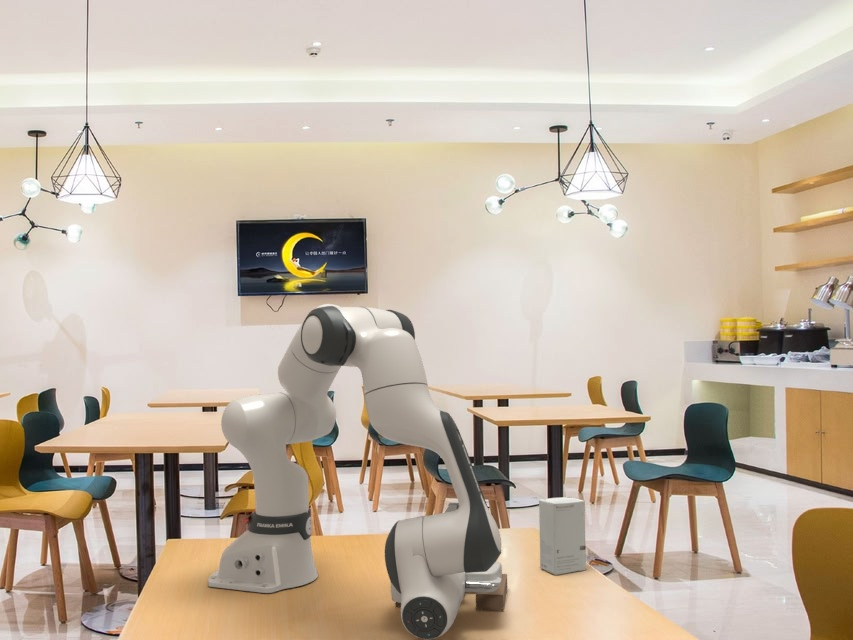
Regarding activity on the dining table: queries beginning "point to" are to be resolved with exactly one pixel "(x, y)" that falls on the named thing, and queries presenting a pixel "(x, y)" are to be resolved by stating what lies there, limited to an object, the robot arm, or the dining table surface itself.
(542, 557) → the skincare box
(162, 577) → the dining table surface
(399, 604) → the cutout shelf
